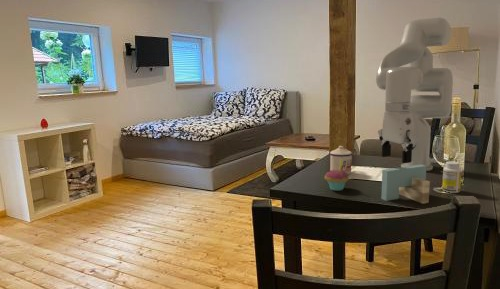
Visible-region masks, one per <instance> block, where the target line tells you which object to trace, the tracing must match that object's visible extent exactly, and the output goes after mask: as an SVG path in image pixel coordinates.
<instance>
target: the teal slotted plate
mask: <svg viewBox="0 0 500 289" xmlns="http://www.w3.org/2000/svg"><path fill="white" fill-rule="evenodd" d="M413 178H420V179H424V180H427V171H426V166H425V165H414V166H406V167H401V166H400V167H399V166H398V167H393V168H392V167H391V168H386V169H382V170H381V196H380V197H381V198H380V199H381V200H383V201H384V202H385V201H386V202H387V201H394V200H398V199H400V194H399V187H406V186H412V179H413Z"/></svg>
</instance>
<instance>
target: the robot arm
mask: <svg viewBox="0 0 500 289" xmlns="http://www.w3.org/2000/svg"><path fill="white" fill-rule="evenodd" d="M403 28H404V29H403V30H402V33H401V39H400V42H399V45H398V46H397V47H396V48H393V50H391V51H390V52H389V53H387V54H386V55H385V56H384V57H383V58H382V59H381V61H380V63H379V66H378V69H377V73H376V78H375V79H376V80H375V83H376V86H377V87H378V88H379V89H380V90H382V91H385V102H384V104H385V107H384V110H385V111H384V115H383V119H382V128H381V129H378V131H377V134H378V137H379V141H380V145H381V157H382V158H386V157H390V156H391V154H392V153H391V151H392V150H391V149H392V148H391V147H392V144H390V143H394V144H398V145H401V146H402V149H403V150H402V151H401V152H402V153H401V154H402V156H401V158H402V159H401V162H402V163H401V164H400V167H406V166H414V165H425V166H426V172H430V171H432V170H433V168H434V167H433V165H432V164H434V163H437V162H436V161H435V160H434V158H435V157H432V158H431V157H430V151H431V150H430V149H431V132H432V130H431V126H430V124H429V122H428V121H427V120H426V119H447V118H449V117H450V116H451V113H452V107H451V105H452V103H453V86H454V85H453V84H454V82H453V80H454V79H453V72H452V70H451V69H449V68H448V67H434V65H433V64H434V55H433V53H432V52H431V50H430V49H429V48H430V47H441V46H447V45H448V44H449V42H450V41H451V38H452V28H451V25H450V23H449V21H448V20H447V19H445V18H444V17H432V18H430V17H429V18H423V19H422V18H420V19H414V20H410V21H409V22H407V23H406V25H405V26H404V27H403ZM406 65H409V66H406ZM412 91H413V92H419V93H420V92H421V93H422V92H423V93H430V92H431V93H436V92H437V93H439V94H415V95H412ZM452 106H453V105H452Z"/></svg>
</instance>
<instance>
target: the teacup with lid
mask: <svg viewBox="0 0 500 289" xmlns="http://www.w3.org/2000/svg"><path fill="white" fill-rule="evenodd" d="M329 155H330V162H329V163H330V165H329V166H330V168H329V171H332V170H336V169H339V167H340V161H341V159H343V161H342V167H341V170H342V171H344V172H346V173H347V174H348V176H349V175H351V174H352V160H353V156H352V155H353V153H352V151H350V150H348V149H347V148H344V146H343V145H338V148H336V149H335V148H334V150H331V151H330V153H329ZM342 157H343V158H342Z"/></svg>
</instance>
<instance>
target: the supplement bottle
mask: <svg viewBox="0 0 500 289" xmlns="http://www.w3.org/2000/svg"><path fill="white" fill-rule="evenodd" d="M442 170H443V172H442V184H441V185H442V186H441V189H442V191H443V192H445V191H446V192H445V193H448V192H450V193H449V194H458V193H460V192H461V185H462V183H461V182H462V168H460V162H458V161H454V160H453V161H449V160H448V161H446V162H445V167H443V169H442Z"/></svg>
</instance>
